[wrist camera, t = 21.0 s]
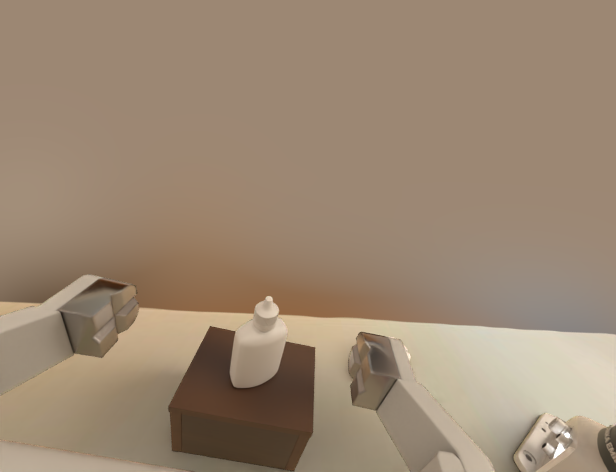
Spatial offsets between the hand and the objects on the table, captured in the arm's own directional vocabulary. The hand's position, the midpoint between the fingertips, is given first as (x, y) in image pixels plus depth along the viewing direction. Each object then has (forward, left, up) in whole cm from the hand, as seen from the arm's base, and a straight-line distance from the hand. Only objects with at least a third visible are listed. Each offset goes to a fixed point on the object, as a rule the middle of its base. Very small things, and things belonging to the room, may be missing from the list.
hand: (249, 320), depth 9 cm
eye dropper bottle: (-8, -8, -22) cm, 25 cm away
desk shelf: (-9, -9, -32) cm, 34 cm away
